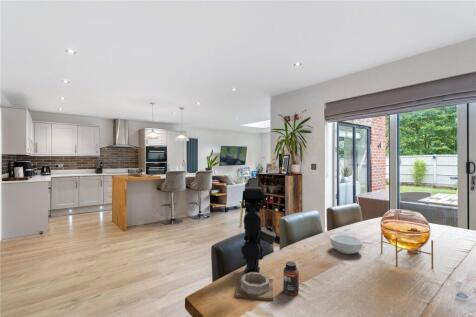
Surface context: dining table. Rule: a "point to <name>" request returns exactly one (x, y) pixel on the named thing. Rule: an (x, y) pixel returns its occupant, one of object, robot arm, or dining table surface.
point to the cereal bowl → (346, 244)
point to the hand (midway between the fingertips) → (251, 263)
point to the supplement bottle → (291, 279)
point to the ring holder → (255, 287)
